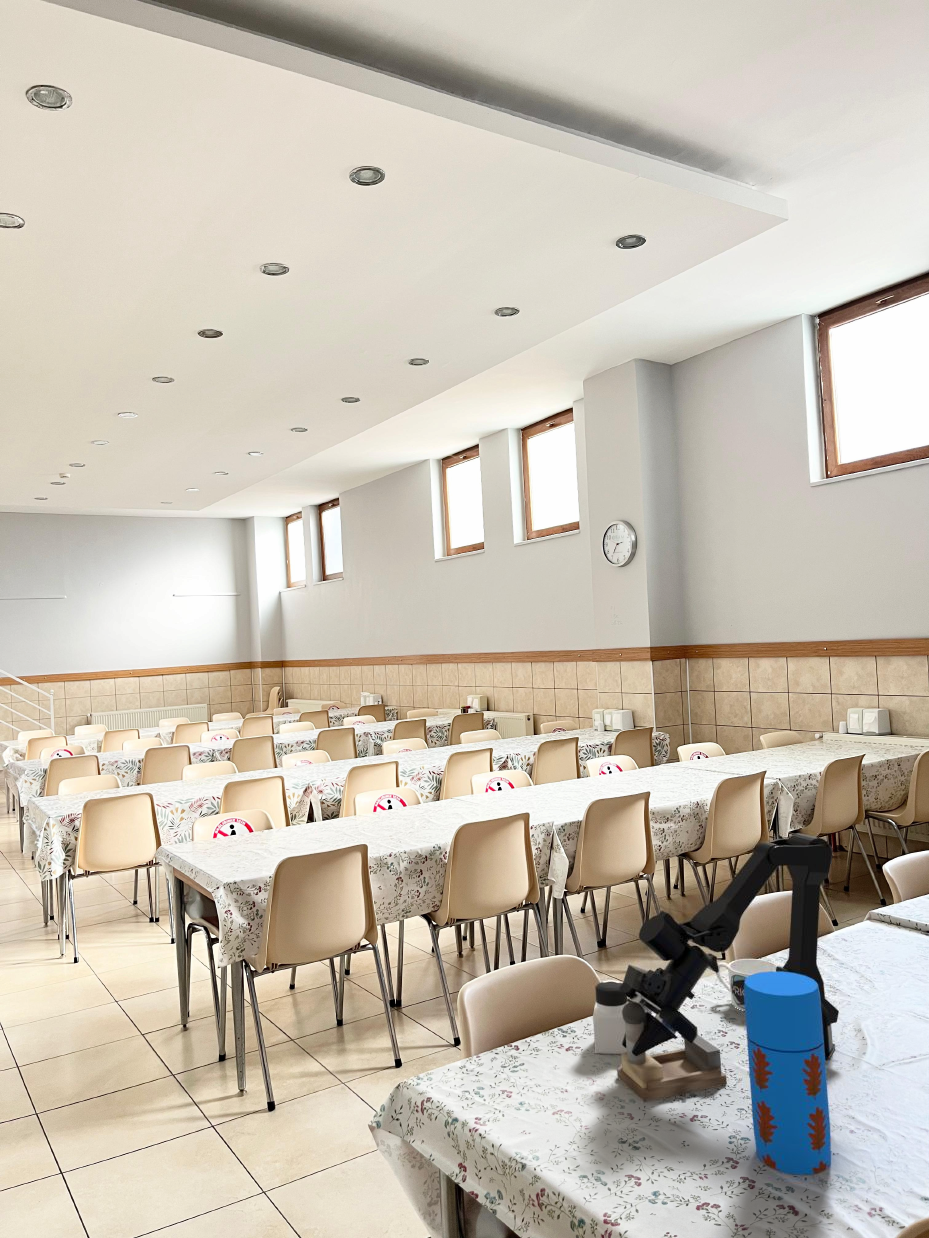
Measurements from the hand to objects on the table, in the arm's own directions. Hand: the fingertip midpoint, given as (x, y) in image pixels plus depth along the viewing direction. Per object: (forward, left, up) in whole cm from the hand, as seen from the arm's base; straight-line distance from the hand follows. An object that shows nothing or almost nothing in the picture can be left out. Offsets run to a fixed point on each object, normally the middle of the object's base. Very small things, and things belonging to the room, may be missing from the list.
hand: (628, 1050), depth 157 cm
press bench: (-4, -5, -7) cm, 10 cm away
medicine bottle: (+10, -15, -7) cm, 19 cm away
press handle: (-1, -1, -5) cm, 5 cm away
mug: (-7, -47, -7) cm, 48 cm away
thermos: (-29, +9, -7) cm, 31 cm away
